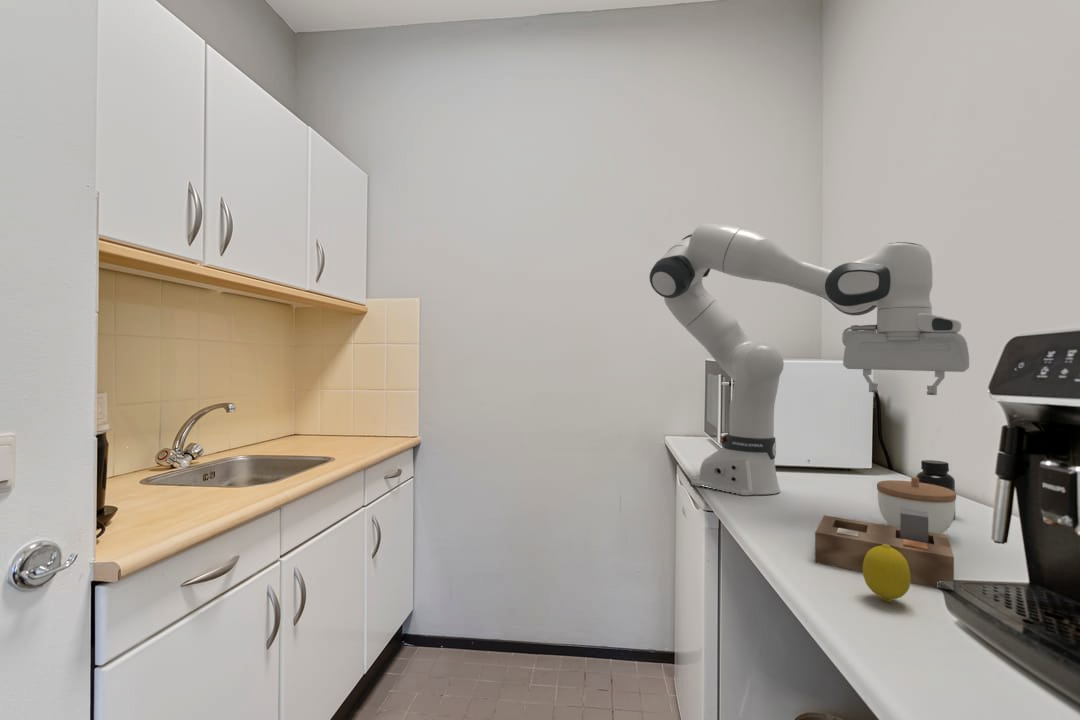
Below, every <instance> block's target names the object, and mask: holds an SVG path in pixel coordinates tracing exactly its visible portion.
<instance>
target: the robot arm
mask: <svg viewBox="0 0 1080 720" xmlns="http://www.w3.org/2000/svg"><path fill="white" fill-rule="evenodd" d="M711 270H714V271H717V272H720V273H723V274H726V275H730V276H732V277H737V278H741V279H747V280H752V281H760V282H769V283H775V284H780V285H784V286H788V287H791V288H795V289H797V290H799V291H803V292H805V293H806V292H807V293H809V294H812V295H815V296H817V297H821V298H822V299H824V300H826V301H827V302H829V303H830V304H831V305H832V306H833V307H834V308H835V309H836V310H838V311H839V312H841V313H842V314H844V315H845V314H846V315H848V316H862V315H865V314H868V313H871V312H872V311H874V310H875V309H876V308H877V309H876V324H866V325H865V324H864V325H859V324H858V325H857V324H854V325H850V327H847V328H846V329H844V330H843V332H842V334H841V335H842V338H841V339H842V340H841V341H842V344H843V345H844V346H845V347H844V353H843V361H842V365H843V366H844V368H846V369H847V370H862V376H863V378H864V379H865V381H866V382H867V383H868V393H878V392H879V391H878V387H879V384H878V383H874V382H873V381H872V379H871V378H870V376H871V375H872V370H875V371H877V370H880V371H911V372H912V371H915V372H917V371H918V372H919V371H920V372H934V377H935V378H937V379H936V380H935V381H934V382H933V383H932V385H926V390H927V391H926V395H927V396H937V395H938V387H939V385H940V384H941V383H942V382H943V380H944V379H945V376H946V375H945V373H946V372H948V373H949V372H952V373H955V372H956V373H964V372H966V371H967V370H968V369H969V368H970V354H969V347H968V342H967V340H966V338H965V337H964V336H963V335H962V334H960V333H959V332H960V331H961V330H962V323H961V322H960V320H957V319H953V318H949V317H944V316H942V315H941V316H940V315H935V314H932V312H933V311H932V310H933V307H932V302H931V299H930V297H931V296H930V295H931V292H932V288H933V264H932V257H931V253H930V251H929V250H928V249H927V247H925V246H923V245H922V244H917V243H915V242H908V241H906V242H905V241H904V242H903V241H897V242H890V243H886V244H884V245H883V246H881V247H880V248H879V249H877V250H876V251H874V252H872V253H870V254H868V255H866V256H864V257H862V258H858V259H857V260H856V259H855V260H853V261H850V262H845V263H842V264H840V265H838V266H836V267H835V268H833V269H829V268H826V267H823V266H819V265H815V264H813V263H810V262H806V261H803V260H801V259H799V258H796V257H794V256H792V255H791V254H790V253H788V252H787V251H786V250H784V249H783V247H781V246H779V245H778V244H777V243H776V242H775V241H774V240H772V239H771V238H769V237H767V236H765V235H763V234H761V233H760V232H756V231H754V230H751V229H747V228H745V227H740V226H736V225H731V224H727V223H726V224H724V223H715V222H705V223H702V224H700V225H699V226H697V227H696V228H695V230H693V232H692V233H691V234H688V235H686V236H685V237H684V238H682V239H681V240H680V241H678V242H677V243H676V244H674V245H673V246H671V247H670V248H669V249H668V250H667V251H666V253H665V254H664V255H663V256H662V257H661V258H660V259H659V260H657V261H656V262H655V264H654V265H653V267H652V268H651V270H650V273H649V283H650V286H651V288H652V289H653V291H654V292H655V293H656V294H657V295H659V296H661V297H663V299H664V300H663V301H664V304H665V305H666V307H667V308H668V310H669V311H670V313H671V314H672V315H673V317H674V318H675V319H676V320H677V322H679V323H680V325H682V326H683V327H684V328H685V329H686V331H687V332H688V333H689V334H691V336H693V337H694V339H696V340H697V341H698V342H699V343H700V344H701V345H702V346H703V347H704V349H705V350H706V351H707V352H708V353H709V354H710V356H711V357H712V358H713V359H714V361H715V362H716V363H717V365H719V367H720V368H721V369H722V370H723V371H724V372H725V373H726V375H728V377H730V379H732V380H733V381H734V384H733V390H732V397H731V401H730V404H729V411H728V412H729V416H728V417H729V423H728V424H729V428H728V429H729V431H728V433H726V434H724V435H723V436H722V437H721V438H720V443H721V446H722V447H721V448H719V449H718V450H716V451H715V452H714V453H712V454H711V455H709V456H708V457H706V458H705V459H704V460H703V461H702V463H701V465H700V469H699V474H698V475H695V476H692V478H691V479H690V483H691V485H692V486H695V487H700V486H702V485H704V486H708V487H711V488H715V489H719V490H723V491H722V492H724V491H726V492H725V493H729V492H731V494H734V493H736V494H735V495H739V494H740V496H753V495H773V494H778V493H780V492H781V489H780V485H779V482H778V477H777V471H776V463H775V459H776V455H777V441H776V437H775V436H774V435H775V431H774V430H775V424H774V423H775V404H776V400H777V399H776V397H777V394H778V388H779V382H780V378H781V377H780V376H781V375H782V373H783V370H784V365H785V364H784V359H783V356H782V354H781V353H780V351H778V350H777V349H776V348H775V347H773V346H772V345H769V344H767V343H765V342H753V341H752V340H751V339H750V338H749V336H748V335H747V334H746V333H745V331H744V330H743V329H742V327H741V325H740V324H739V322H738V320H737V319H736V317H734V315H732V314H731V313H730V312H729V311H728V310H727V309H726V308H725V307H724V306H723V305H722V304H721V303H720V302H719V301H718V300H717V299H716V298H715V297H714V296H712V294H710V293H709V292H708V291H707V290H706V289H705V288H706V287H704V285H703V278H706V277H708V276H709V273H710V271H711ZM719 490H718V491H719Z"/></svg>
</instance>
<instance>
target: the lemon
mask: <svg viewBox="0 0 1080 720" xmlns="http://www.w3.org/2000/svg"><path fill="white" fill-rule="evenodd" d="M862 576H863V579H864V583H865V584H866V586H867V587H868V588H869V589H870V591H871V592H872V593H874V594H875V595H877V596H878V597H880V598H881V600H882V601H884V602H887V603H888V602H890V601H892V600H895V599H896V600H897V599H900V598H902V597H903V596H906V595H905V594H907V593H908V591H909V589H910V586H911V582H910V581H911V577H910V569H909V566H908V563H907V561H906V559H905V558H904V557H903V555H902V554H901V553H900V552H898V551H897V550H895V549H894V548H891V547H890V546H889V545H888V544H883V545H882V546H876V547H874V548H872V549H870V550H869V551H868V552H867V554H866V555H865V558H864V561H863V572H862Z"/></svg>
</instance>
